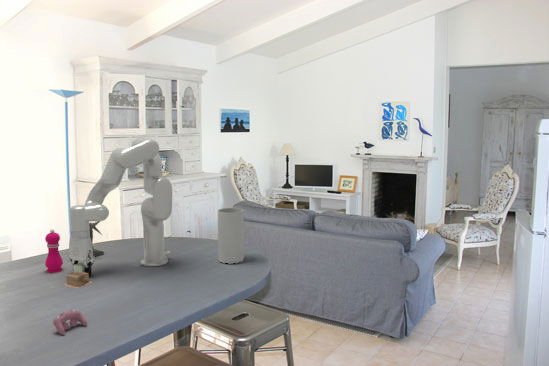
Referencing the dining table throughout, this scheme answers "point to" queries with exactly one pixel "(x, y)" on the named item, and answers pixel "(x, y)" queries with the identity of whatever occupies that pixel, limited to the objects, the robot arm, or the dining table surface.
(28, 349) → the dining table surface
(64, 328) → the video game controller
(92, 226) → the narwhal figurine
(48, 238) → the pepper mill
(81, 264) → the sage block
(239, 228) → the cylinder vase
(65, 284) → the cream wavy board
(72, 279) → the walnut base block
